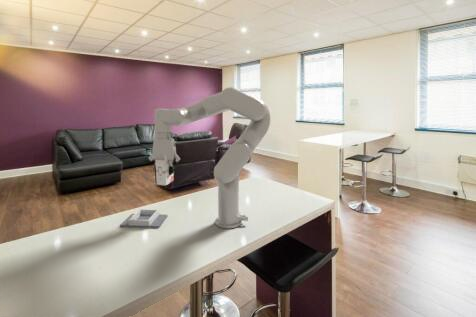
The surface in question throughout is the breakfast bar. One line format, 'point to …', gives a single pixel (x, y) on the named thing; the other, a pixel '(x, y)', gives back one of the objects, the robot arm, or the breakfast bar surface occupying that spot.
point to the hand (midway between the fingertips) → (164, 173)
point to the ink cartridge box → (163, 172)
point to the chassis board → (144, 219)
